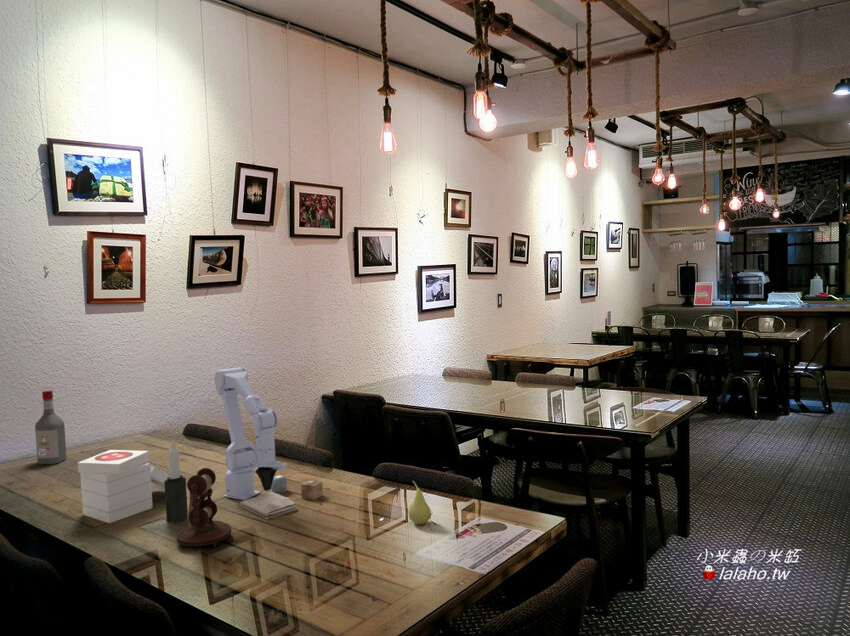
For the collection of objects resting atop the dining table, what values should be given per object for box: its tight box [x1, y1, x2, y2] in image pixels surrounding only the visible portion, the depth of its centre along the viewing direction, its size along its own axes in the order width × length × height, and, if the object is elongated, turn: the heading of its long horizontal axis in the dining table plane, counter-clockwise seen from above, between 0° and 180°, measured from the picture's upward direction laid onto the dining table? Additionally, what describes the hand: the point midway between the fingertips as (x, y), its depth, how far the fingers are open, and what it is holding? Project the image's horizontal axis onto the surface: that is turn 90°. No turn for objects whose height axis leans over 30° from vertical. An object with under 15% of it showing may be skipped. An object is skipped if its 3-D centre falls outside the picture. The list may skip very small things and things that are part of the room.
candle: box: [164, 440, 189, 524], centre depth 195 cm, size 5×5×25 cm
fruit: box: [407, 480, 432, 525], centre depth 187 cm, size 7×8×12 cm
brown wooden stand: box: [176, 467, 232, 548], centre depth 179 cm, size 15×15×20 cm
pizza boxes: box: [77, 449, 170, 524], centre depth 209 cm, size 19×30×18 cm, turn 147°
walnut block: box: [300, 479, 323, 501], centre depth 213 cm, size 5×5×5 cm
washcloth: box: [239, 491, 298, 520], centre depth 204 cm, size 12×18×3 cm, turn 46°
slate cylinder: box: [271, 474, 288, 495], centre depth 219 cm, size 5×5×5 cm
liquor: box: [34, 389, 68, 465], centre depth 263 cm, size 9×9×30 cm
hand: (267, 489), depth 203 cm, fingers closed
